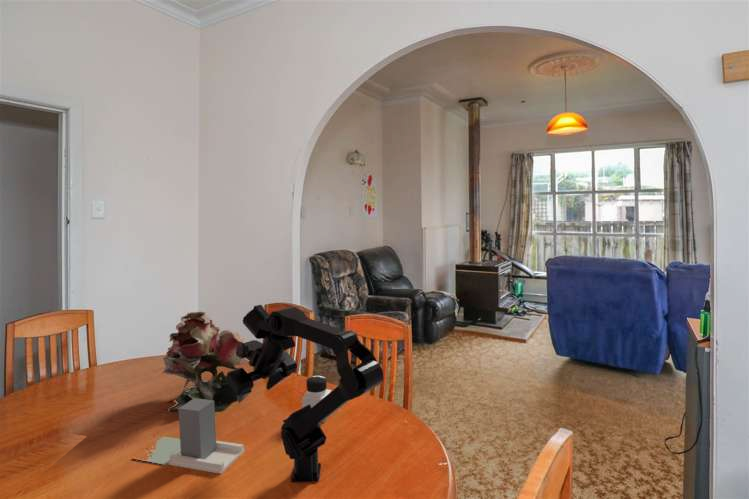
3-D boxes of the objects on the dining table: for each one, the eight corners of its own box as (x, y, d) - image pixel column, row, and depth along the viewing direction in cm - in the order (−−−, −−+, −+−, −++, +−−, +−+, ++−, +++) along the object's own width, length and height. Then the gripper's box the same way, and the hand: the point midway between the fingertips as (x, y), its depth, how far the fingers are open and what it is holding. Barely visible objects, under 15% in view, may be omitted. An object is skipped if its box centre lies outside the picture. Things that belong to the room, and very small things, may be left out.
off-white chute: (244, 451, 111) (244, 443, 111) (221, 473, 101) (220, 465, 101) (196, 443, 115) (195, 436, 115) (169, 464, 105) (168, 457, 105)
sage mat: (194, 442, 115) (194, 441, 115) (164, 465, 105) (164, 464, 105) (163, 437, 118) (163, 436, 118) (131, 459, 108) (131, 458, 108)
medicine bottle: (324, 422, 125) (323, 383, 124) (302, 420, 127) (301, 381, 126) (332, 411, 132) (331, 374, 131) (310, 409, 134) (309, 372, 133)
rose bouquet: (260, 384, 154) (256, 303, 151) (208, 423, 126) (203, 324, 123) (200, 378, 161) (196, 300, 158) (138, 413, 133) (132, 320, 130)
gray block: (216, 448, 111) (214, 400, 109) (201, 461, 105) (198, 411, 104) (197, 445, 112) (194, 398, 111) (181, 457, 106) (178, 408, 105)
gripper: (281, 322, 116) (264, 363, 122) (221, 339, 101) (205, 385, 106) (307, 348, 111) (287, 390, 116) (248, 370, 96) (229, 417, 101)
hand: (253, 394), depth 110 cm, fingers open, 9 cm apart
